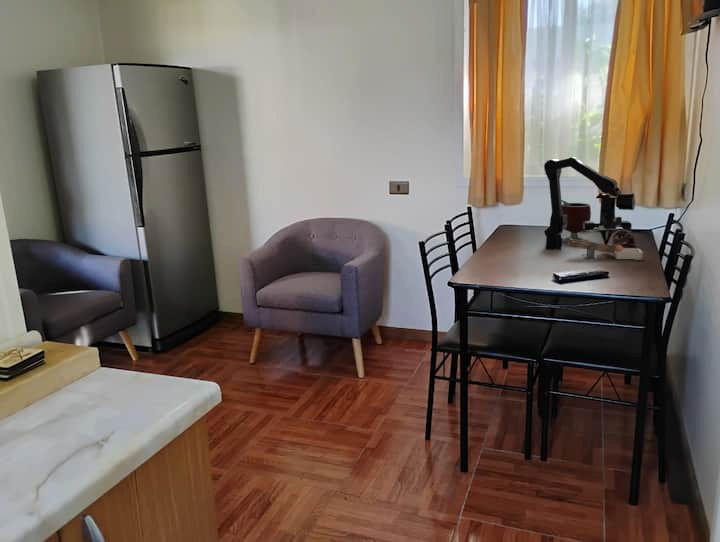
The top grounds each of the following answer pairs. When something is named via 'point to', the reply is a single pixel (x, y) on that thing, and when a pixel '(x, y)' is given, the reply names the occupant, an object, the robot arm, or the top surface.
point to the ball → (619, 248)
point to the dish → (629, 254)
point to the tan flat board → (591, 245)
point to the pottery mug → (623, 237)
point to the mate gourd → (576, 218)
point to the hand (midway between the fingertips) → (605, 245)
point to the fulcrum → (590, 254)
